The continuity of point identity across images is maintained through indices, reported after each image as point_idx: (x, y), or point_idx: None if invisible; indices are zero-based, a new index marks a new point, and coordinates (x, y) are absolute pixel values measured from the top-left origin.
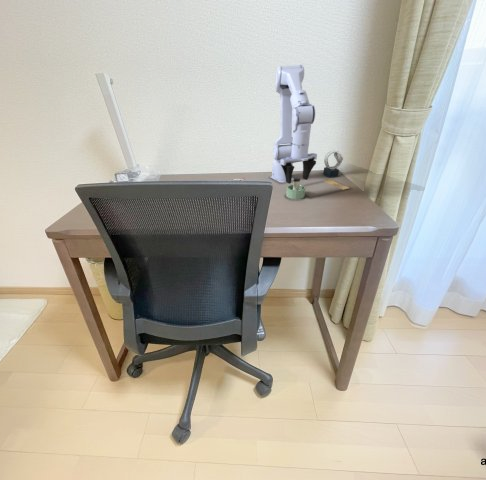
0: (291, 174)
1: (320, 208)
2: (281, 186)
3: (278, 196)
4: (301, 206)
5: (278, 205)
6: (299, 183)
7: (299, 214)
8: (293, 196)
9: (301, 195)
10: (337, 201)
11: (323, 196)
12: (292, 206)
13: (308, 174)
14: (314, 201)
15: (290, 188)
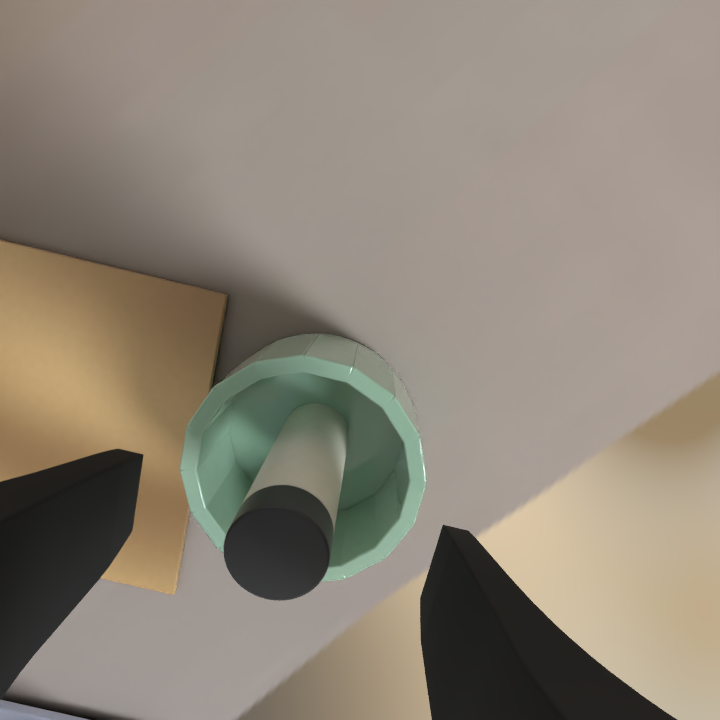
0: (513, 621)
1: (365, 16)
2: (221, 686)
3: None
4: (476, 208)
5: (626, 394)
6: (272, 469)
7: (666, 77)
8: (407, 396)
9: (329, 343)
10: (55, 6)
11: (74, 220)
12: (545, 276)
13: (65, 476)
14: (262, 198)
15: None
